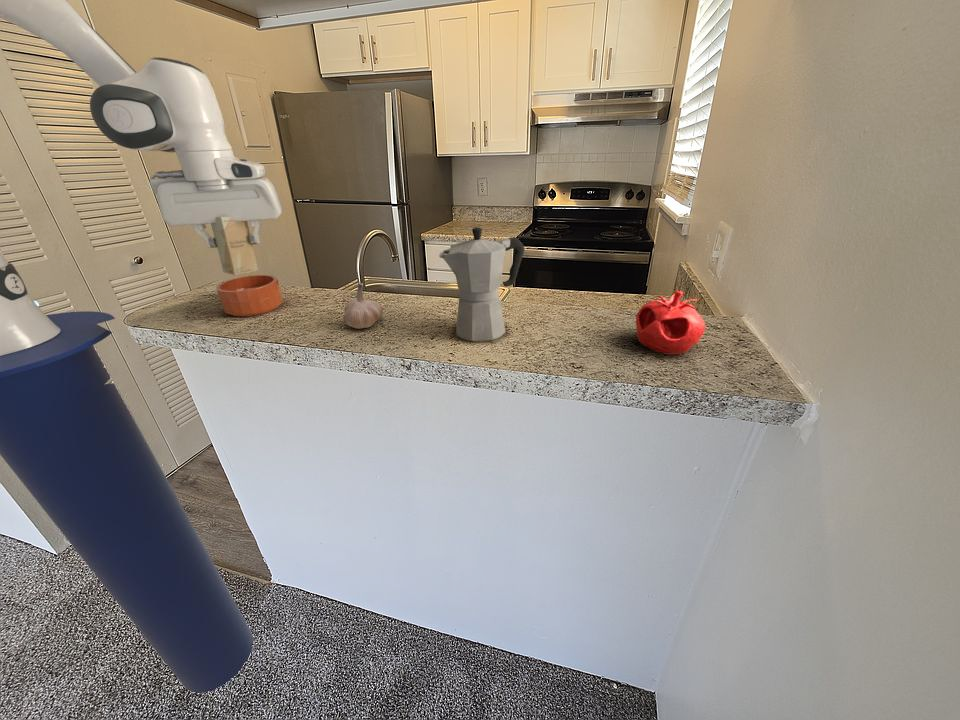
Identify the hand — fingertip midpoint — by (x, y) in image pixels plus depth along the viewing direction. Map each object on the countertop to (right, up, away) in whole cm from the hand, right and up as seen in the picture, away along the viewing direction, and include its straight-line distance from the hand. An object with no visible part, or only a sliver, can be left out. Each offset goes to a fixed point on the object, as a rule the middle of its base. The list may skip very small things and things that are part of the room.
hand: (235, 245), depth 80 cm
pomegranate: (+79, -21, -15) cm, 83 cm away
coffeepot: (+50, -18, -7) cm, 53 cm away
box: (0, -5, +3) cm, 6 cm away
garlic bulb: (+27, -16, -3) cm, 32 cm away
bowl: (0, -12, +6) cm, 13 cm away
